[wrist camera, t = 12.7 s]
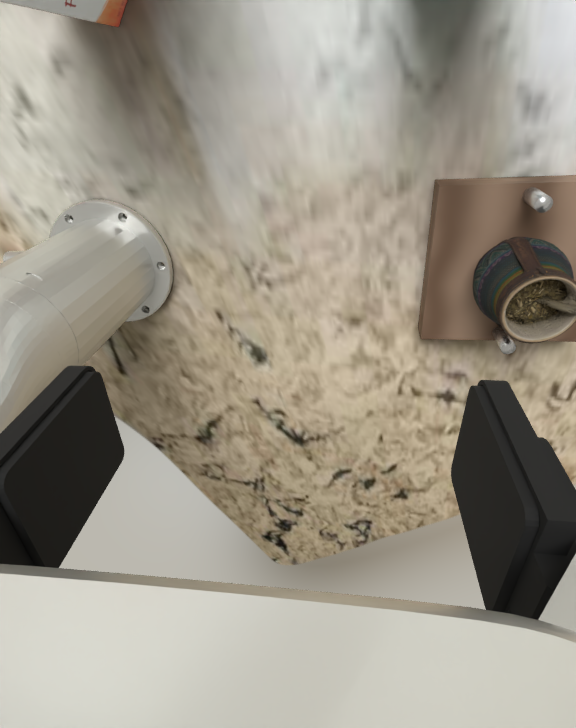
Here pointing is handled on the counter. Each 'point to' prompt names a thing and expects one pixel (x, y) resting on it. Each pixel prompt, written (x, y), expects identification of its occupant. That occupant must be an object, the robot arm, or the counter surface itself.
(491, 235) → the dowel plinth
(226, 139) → the counter surface
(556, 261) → the mate gourd
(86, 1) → the cracker box
